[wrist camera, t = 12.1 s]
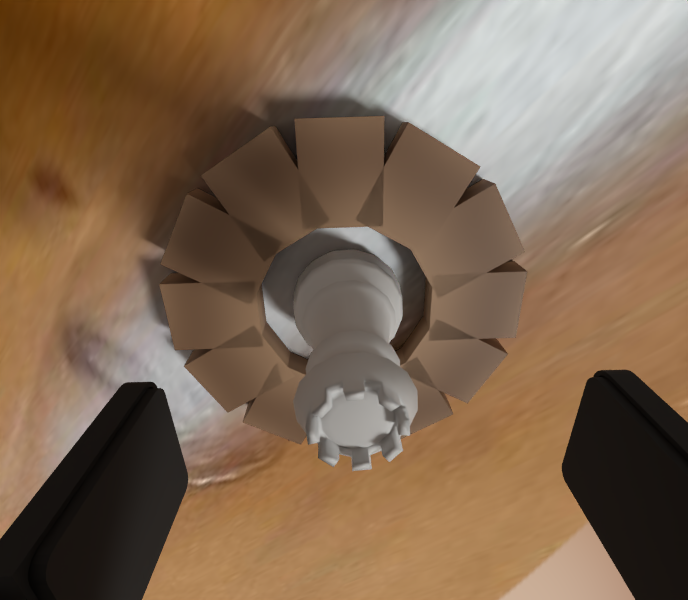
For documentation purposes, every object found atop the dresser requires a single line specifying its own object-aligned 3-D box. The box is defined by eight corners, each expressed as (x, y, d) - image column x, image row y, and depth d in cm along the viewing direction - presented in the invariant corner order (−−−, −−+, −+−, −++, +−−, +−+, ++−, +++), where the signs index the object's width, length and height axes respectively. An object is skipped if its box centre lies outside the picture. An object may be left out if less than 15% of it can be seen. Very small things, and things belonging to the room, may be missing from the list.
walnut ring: (538, 111, 14) (555, 110, 13) (488, 422, 20) (497, 440, 19) (137, 123, 14) (120, 123, 13) (206, 433, 20) (199, 452, 19)
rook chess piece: (291, 338, 18) (262, 493, 10) (296, 240, 16) (266, 345, 8) (391, 345, 18) (431, 501, 11) (408, 250, 16) (470, 360, 9)
